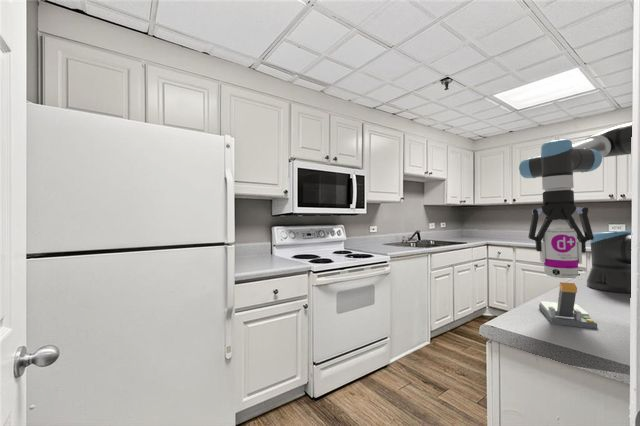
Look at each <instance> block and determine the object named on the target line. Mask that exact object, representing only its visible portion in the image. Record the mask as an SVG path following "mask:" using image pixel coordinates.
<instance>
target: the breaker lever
mask: <svg viewBox="0 0 640 426" xmlns="http://www.w3.org/2000/svg"><path fill="white" fill-rule="evenodd" d="M577 293H578V287H577V285H576V284H575V283H574V282H559V292H558V301H557V303H558V307H557V312H556V311H555V316H562V317H574V318H575V314H574V313H573V310H574V304H576V302H575V301H576V295H577Z"/></svg>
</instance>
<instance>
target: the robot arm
mask: <svg viewBox="0 0 640 426" xmlns="http://www.w3.org/2000/svg"><path fill="white" fill-rule="evenodd" d="M632 123H633V122H629V123H624V124H620V125H616V126H614V127H611V128H609V129H606V130H604V131H601V132H598V133H596V134H594V135H590V136H588V137H587V138H585V139H584V140H583V141H581V142H578V143H575V144H573V143H572V141H571V139H568V138H567V139H565V138H564V139H557V140H550V141H546V142H544V143H543V144H542V145H541V146H540V148H541V149H540V155H539V156H535V157H529V158H526V159H523V160H522V161H521V162H520V164H519V165H518V170H519V174H520V176H521V177H523V178H524V179H535V178H541V179H542V180H541V182H542V183H541V186H542V191H543V192H542V206H541V207H540V208H532V209H530V212H531V216H532V217H531V220H530V225H529V226H530V227H529V230H528V231H529V232H528V239H530V240H532V241H534V242H535V250H536V252H539V261H540V262H541V263H544V262H545V242H543V237H544V235H545V232H546V231H547V229H548V228H550V225H551V224H552V222H553V221H557V220H560V221H561V220H564V221H565V222H566V223H567V225H568V226H569V228H571V229H573V228H574V230H575V232H576V233H577V249H578V265H579V264H580V265H581V264H582V265H583V255H582V254H583V253H586V250H587V249H586V245H587V244H586V243H587V242H589V241H590V243H589V244H590V253H591V254H590V255H591V268H590V272H589V274H588V275H587V278H586V286H587V287H589V288H591V289H595V290H600V291H607V292H613V293H623V294H624V293H625V294H628V293H629V294H632V293H631V232H632V231H631V230H616V231H603V232H593V230H592V227H591V222H590V220H589V217H588V213H589V208H588V207H579V206H578V207H577V206H576V204H575V192H574V190H573V188H574V185H575V184H574V174H575V173H588V172H592V171H593V172H594V171H595V170H596V169H598V168H600V166H601V164H602V161H603V158H608V157H617V156H625V155H631V137H632ZM575 212H576V213H577V214H578V216H579V219H580V224H581V227H582V231H583V232H582V231H581V230H580V228H579V226H578V225H577V223H576V222H575V219H574V217H573V214H574V213H575ZM541 213H543V214H544V215H545V218H544V220H543V222H542V225H541V227H540V228H539V230H538V232H537V228H538V223H539V216H541ZM536 233H537V234H536ZM626 292H627V293H626Z"/></svg>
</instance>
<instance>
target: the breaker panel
mask: <svg viewBox="0 0 640 426" xmlns="http://www.w3.org/2000/svg"><path fill="white" fill-rule="evenodd" d="M538 307H539V308H538V309H539V310H540V311H541V312H542V314H543V315H544V316H545V318H547V320H548V321H549V322H550V324H552V325H557V326H558V325H560V326H567V327H568V326H569V327H577V328H586V329H587V328H588V329H596V330H598V323H597V321H595V320H594V319H593V318H592V317H590V313H589V312H587V311H586V310H585V309H583V308H582V307H581V306H580V305H578V304H577V303H574V310H573V313H574V314H575V318H574V317H562V316H555V311H556V312H557V307H558V302H553V301H542V300H540V301H539V304H538Z"/></svg>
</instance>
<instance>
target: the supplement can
mask: <svg viewBox="0 0 640 426" xmlns="http://www.w3.org/2000/svg"><path fill="white" fill-rule="evenodd" d="M542 241H543V242H545V262H543V273H544V274H546V276H548V277H552V278H558V279H575V278H577V277H579V263H578V249H577V241H578V239H577V233H576V232H575V230H574V228H573V229H571V228H570V227H548V229H547V231H546V232H545V235H544V237H543V239H542Z"/></svg>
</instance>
